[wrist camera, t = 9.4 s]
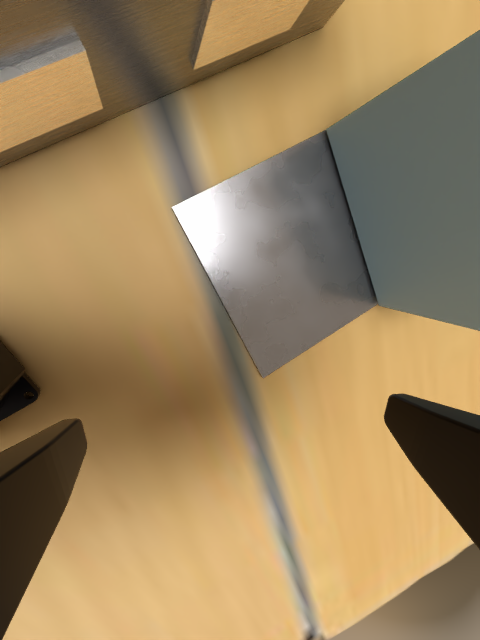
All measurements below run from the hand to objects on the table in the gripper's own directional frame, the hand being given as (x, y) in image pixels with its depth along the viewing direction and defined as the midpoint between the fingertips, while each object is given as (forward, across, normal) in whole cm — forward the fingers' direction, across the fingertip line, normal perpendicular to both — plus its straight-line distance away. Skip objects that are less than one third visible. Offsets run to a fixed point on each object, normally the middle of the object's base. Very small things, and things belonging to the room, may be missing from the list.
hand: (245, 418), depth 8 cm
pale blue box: (+16, +15, +6) cm, 23 cm away
